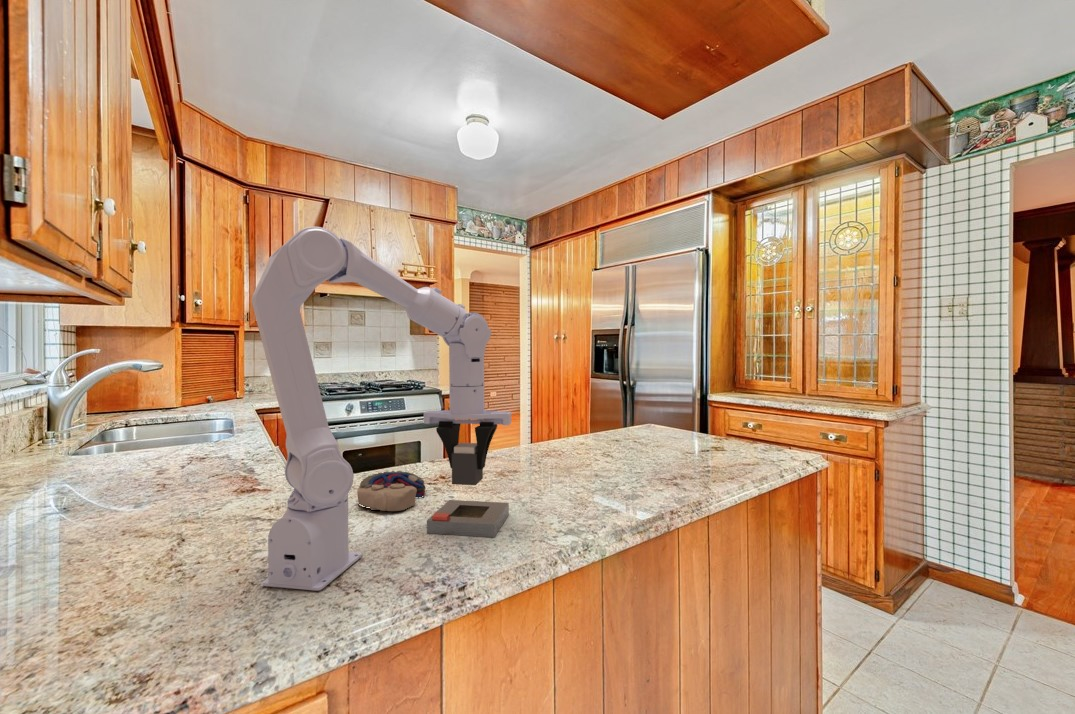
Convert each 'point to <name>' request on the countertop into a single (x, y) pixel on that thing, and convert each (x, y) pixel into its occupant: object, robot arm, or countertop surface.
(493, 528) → the socket plate
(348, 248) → the robot arm
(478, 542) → the countertop surface
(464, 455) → the plug
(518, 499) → the countertop surface
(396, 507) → the anatomical model
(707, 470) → the countertop surface
